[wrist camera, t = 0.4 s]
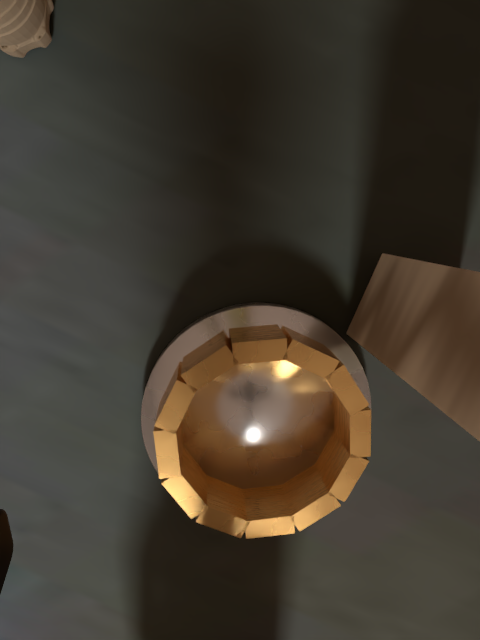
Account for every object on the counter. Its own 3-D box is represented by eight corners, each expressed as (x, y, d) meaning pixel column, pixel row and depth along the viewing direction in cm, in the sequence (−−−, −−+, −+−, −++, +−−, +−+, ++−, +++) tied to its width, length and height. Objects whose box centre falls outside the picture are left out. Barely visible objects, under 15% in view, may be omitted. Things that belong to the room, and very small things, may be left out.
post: (419, 360, 23) (676, 529, 11) (346, 333, 22) (527, 480, 10) (457, 284, 22) (784, 369, 10) (382, 253, 22) (631, 302, 9)
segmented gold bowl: (363, 495, 25) (389, 539, 22) (156, 518, 24) (149, 568, 21) (364, 293, 22) (394, 306, 19) (130, 311, 21) (116, 330, 18)
